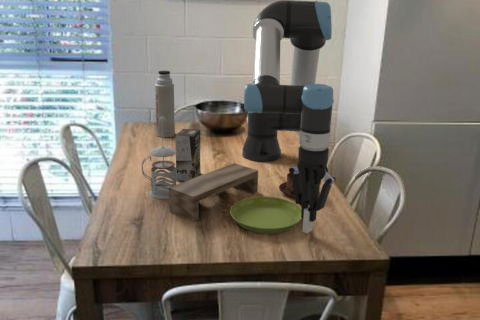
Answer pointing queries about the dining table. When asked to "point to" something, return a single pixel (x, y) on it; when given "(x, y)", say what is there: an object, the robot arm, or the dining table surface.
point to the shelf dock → (210, 188)
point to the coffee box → (187, 154)
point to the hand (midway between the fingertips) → (307, 230)
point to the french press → (161, 187)
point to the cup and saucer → (288, 186)
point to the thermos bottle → (164, 104)
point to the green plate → (266, 214)
